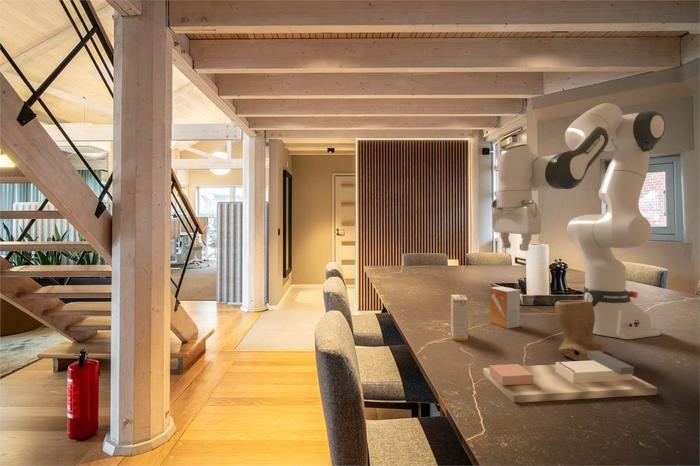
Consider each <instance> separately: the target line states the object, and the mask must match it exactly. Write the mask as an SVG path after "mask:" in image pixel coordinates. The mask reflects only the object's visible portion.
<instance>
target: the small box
mask: <svg viewBox="0 0 700 466" xmlns="http://www.w3.org/2000/svg"><path fill="white" fill-rule="evenodd" d="M489 291H490V292H489V323H490V324H494V325H496V326H499V327H502V328H504V329H512V328H518V327H520V324H521V323H520V322H521V317H520V316H521V314H520V313H521V309H520V307H521V290H520V289H518V288H517V289H515V288H513V287H508V286H507V287H506V286H502V285H501V286H494V287H493V286H492V287H489Z"/></svg>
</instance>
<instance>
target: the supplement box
mask: <svg viewBox="0 0 700 466" xmlns="http://www.w3.org/2000/svg"><path fill="white" fill-rule="evenodd" d="M468 304H469V300H468V298H467V296H466V294H451V295H450V333H451V337H452V340H453V341H462V342H463V341H464V342H467V341H469V305H468Z"/></svg>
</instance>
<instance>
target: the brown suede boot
mask: <svg viewBox="0 0 700 466" xmlns="http://www.w3.org/2000/svg"><path fill="white" fill-rule="evenodd" d="M554 308H555V317H556V319H557V322H558V324H559V326H560V330H561V331H562V335H563V342H561V345H560V346H559V348H558V352H559V353H561V354H562V355H564V356H565V357H567V358H569V359H571V360H573V361H591V360H592V359H590V358H588V357H587V351H600V352H603V353H604V351H605V346H604V345H603V344H601V343H598V342H595V341H594V340H593V337H594V336H593V334H594V333H593V328H594V323H595V315H594V308H593V305H592V303H591V302H590V301H587V300H584V299H579V300H574V299H573V300H572V299H565V300H557V301H556V302H555V303H554Z"/></svg>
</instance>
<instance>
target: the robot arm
mask: <svg viewBox="0 0 700 466" xmlns="http://www.w3.org/2000/svg"><path fill="white" fill-rule="evenodd" d="M665 130H666V121H665V119H664V117H663V115H662V114H661V113H660V112H658V111H651V110H646V111H641V112H637V113H628V114H623V112H622V110H621V109H620V107H619V106H618V105H616V104H613V103H610V102H609V103H608V102H607V103H605V102H603V103H601V104H598V105H596V106H594V107H592V108H590V109H589V110H587V111H585V112H583V114H581V115H580V116H578V117H577V118H576V119H575V120H573V122H571V123H570V125H568V127H567V128H566V130H565V133H564V141H565V144H566V145H567V147H568V148H569V149H570V150H567V151H564V152H560V153H556V154H550V155H546V156H542V157H541V155H540V156H539V155H538V154H536V153H534V152H533V151H532V149H531V145H529V144H526V143H524V144H523V143H522V144H518V145H512V146H508V147H506V148H504V149H503V150H502V151H501V153H500V155H499V160H498V161H499V162H498V179H499V188H498V195H497V197H496V198H495V199H493V201H491V203H490V206H491V209H493V210H492V212H491V213H492V216H491V218H492V219H491V220H492V221H491V222H492V223H491V224H492V229H493V232H494V233H500V234H499V235H500V239H501V242H502V248H504V249H511V246H512V245H511V244H512V242H511V241H510V238H509V237H510V234H516V235H518V234H519V235H520V237H521V239H522V240H521V243H520V244H519V251H521V252H522V251H525V252H526V251H527V252H528V251H529V249H530V248H529V245H530V242H531V240H532V236H533V235H540V234H541V232H542V220H541V212H540V209H539V207H538V204H537V202H535V200H534V199H533V192H536V191H537V192H538V191H539V192H540V191H548V190H549V191H550V190H571V189H574V188H576V187H577V186H579V185H580V183H581V182H582V181H583V180H584V179H585V176H586V174H587V172H588V170H589V168H590V166H592V164H593V163H594V162H595V161H596V160H597V159H598V157H599V156H600V155H601V154H602V153H604V152H605V153H606V152H613V157H612V159H611V161H610V163H609V164H608V166H607V169H606V171H605V174H604V177H603V180H602V182H601V185H600V188H599V191H598V197H599V199H600V201H601V202H602V203H604V204H605V205H606V206H607V207H606V208H607V209H606V212H605V213H602V214H601V213H600V214H599V213H597V214H595V213H594V214H584V215H578V216H577V217H573V218H572V219H570V220H569V222H568V223H567V227H566V235H567V238H568V239H569V241H571V242H572V243H573V244H574V245H575V246H576V248H577V249H578V250H579V252H580V255H581V257H582V259H583V265H584V278H585V279H584V281H585V284H584V287H583V300H587V301H590V302H591V303H592V305H593V308H594V315H595V323H594V328H593V334H594V335H599V336H603V337H612V338H618V339H621V340H634V339H640V338H641V339H643V338H649V337H657V336H661V331H660V330H658V329H657V328H654V327H652V322H651V317H650V316H649V314H648V313H647V312H646V311H644V310H643V309H641V307H639V306H637V305H636V304H635V303H634V302H633V301H632V300H631V299H632V298H633V299H637V298H638V297H639V293H638V292H637V291H633V290H630V291H628V290H627V287H626V285H627V280H626V279H627V268H626V266H625V264H624V263H623V262H622V261H620V260H619V259H618V258H616V257H615V255H614V253H613V252H612V248H615V249H633V248H639V247H643V246H644V245H646V244H647V243H648V242H649V241H650V239H651V237H652V232H653V229H652V226H651V223H650V222H649V220H648V219H647V218H646V217H645V216H643V214H642V213H641V211H640V207H639V202H640V201H639V200H640V198H641V195H642V189H643V187H644V184H645V181H646V179H647V175H648V174H647V173H648V171H649V165H650V154H649V153H650V152H649V151H652V150H653V148H654V147H655V146H656V144H657V143H659V142H660V140H661V139H662V137H663V136H664V134H665Z"/></svg>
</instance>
